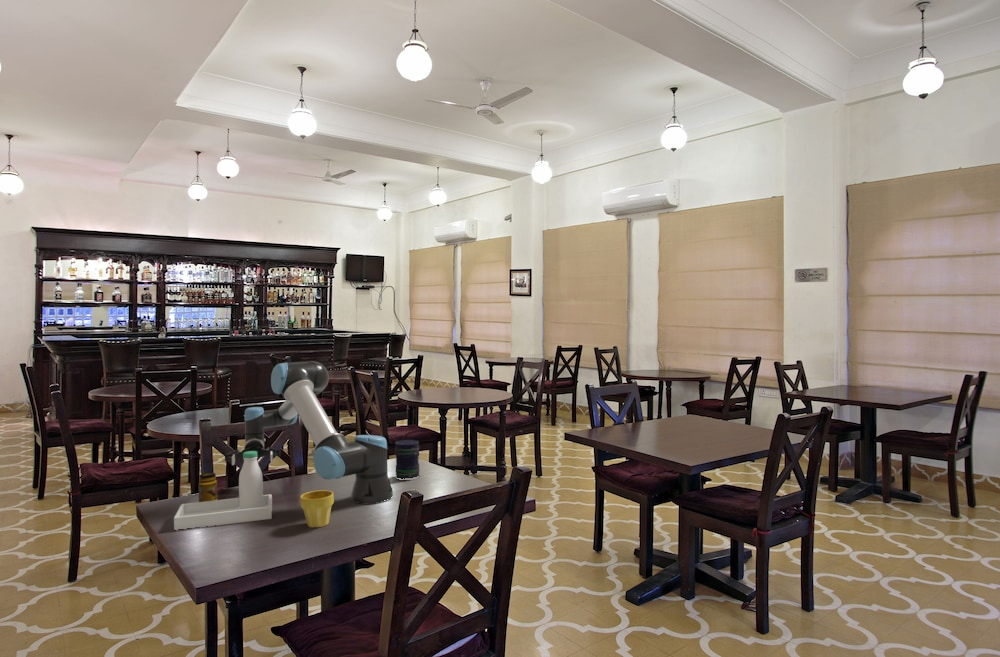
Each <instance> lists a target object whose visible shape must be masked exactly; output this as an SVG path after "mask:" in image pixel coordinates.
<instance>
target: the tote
mask: <svg viewBox="0 0 1000 657" xmlns="http://www.w3.org/2000/svg"><path fill="white" fill-rule="evenodd" d="M272 513H273V496H272V493H271V494H270V493H269V494H263V507H258V508H250V509H241V510H240V509H239V497H234V498H233V497H232V498H226V499H225V498H224V499H217V500H214V501H205V502H199V501H198V502H189V503H181V504H180V506H179V508H178V510H177V512H176V513H175V515H174V517H173V529H174V530H176V531H179V530H178V529H184V530H188V529H187V528H192V529H196V528H195V527H200V528H206V526H208V527H216V526H222V525H223V526H224V525H231V524H241V523H247V522H255V521H257V522H258V521H263V520H264V521H265V520H272V516H273V514H272ZM215 525H216V526H215Z"/></svg>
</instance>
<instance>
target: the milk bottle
mask: <svg viewBox="0 0 1000 657" xmlns="http://www.w3.org/2000/svg"><path fill="white" fill-rule="evenodd" d="M242 459H243V464H242V467H241V470H240V471H239V476H238V498H239V509H240V510H241V509H250V508H258V507H263V495H264V478H263V472H262V470H261V467H260V466H259V463H258V459H257V451H248V452H244V453H243V458H242Z"/></svg>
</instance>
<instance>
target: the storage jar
mask: <svg viewBox="0 0 1000 657" xmlns="http://www.w3.org/2000/svg"><path fill="white" fill-rule="evenodd" d="M419 443H420V442H419V440H416V439H402V440H397V441H395V444H394V445H395V447H394V448H395V449H394V451H395V453H394V454H395V463H396V464H395V476H396V477H397V478H401V479H403V478H404V479H405V478H413V477H417V476H419V477H420V464H419V454H420V452H419V451H420V445H419ZM396 477H395V478H396Z"/></svg>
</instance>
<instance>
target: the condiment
mask: <svg viewBox="0 0 1000 657" xmlns="http://www.w3.org/2000/svg"><path fill="white" fill-rule="evenodd" d="M216 475H217V474H216V473H215V472H212V471H211V472H204V473H200V475H199V477H198V478H199V479H198V480H199V482H198V484H197V485H198V488H197V489H198V502H205V501H214V500H218V480H216V479H217V477H216Z"/></svg>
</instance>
